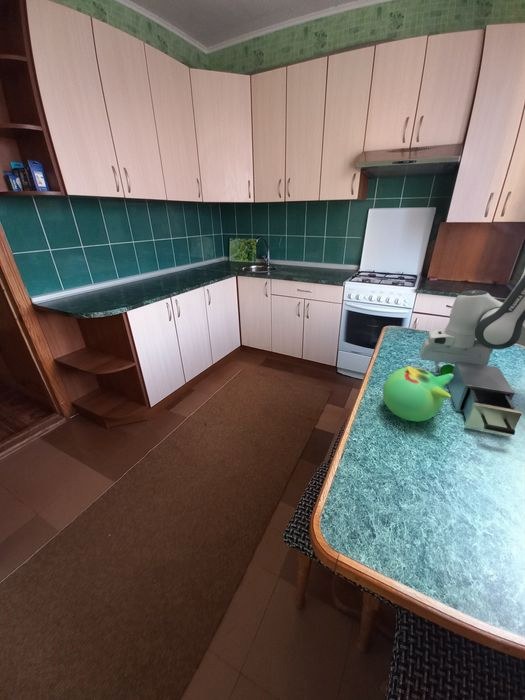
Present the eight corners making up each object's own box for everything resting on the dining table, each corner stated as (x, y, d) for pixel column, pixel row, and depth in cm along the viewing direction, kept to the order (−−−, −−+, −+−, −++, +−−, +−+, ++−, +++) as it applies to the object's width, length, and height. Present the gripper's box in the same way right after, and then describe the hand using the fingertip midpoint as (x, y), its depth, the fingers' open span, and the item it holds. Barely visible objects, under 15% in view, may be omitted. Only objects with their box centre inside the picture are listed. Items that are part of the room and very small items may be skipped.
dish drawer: (517, 450, 72) (530, 427, 69) (469, 440, 76) (479, 417, 72) (495, 406, 88) (504, 384, 84) (455, 399, 91) (463, 378, 88)
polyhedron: (447, 381, 101) (451, 370, 99) (435, 375, 105) (438, 363, 103) (457, 378, 103) (461, 367, 101) (445, 372, 107) (448, 360, 105)
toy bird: (386, 389, 98) (394, 351, 91) (443, 405, 90) (456, 364, 83) (373, 420, 85) (382, 378, 78) (439, 442, 77) (455, 397, 70)
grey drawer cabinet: (502, 419, 84) (514, 392, 79) (456, 411, 88) (465, 384, 83) (487, 391, 96) (498, 367, 91) (447, 385, 100) (455, 361, 95)
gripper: (492, 338, 96) (479, 373, 103) (424, 330, 103) (415, 364, 109) (498, 346, 91) (484, 383, 97) (426, 337, 98) (416, 372, 104)
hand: (447, 373), depth 103 cm, fingers closed on polyhedron, 5 cm apart
